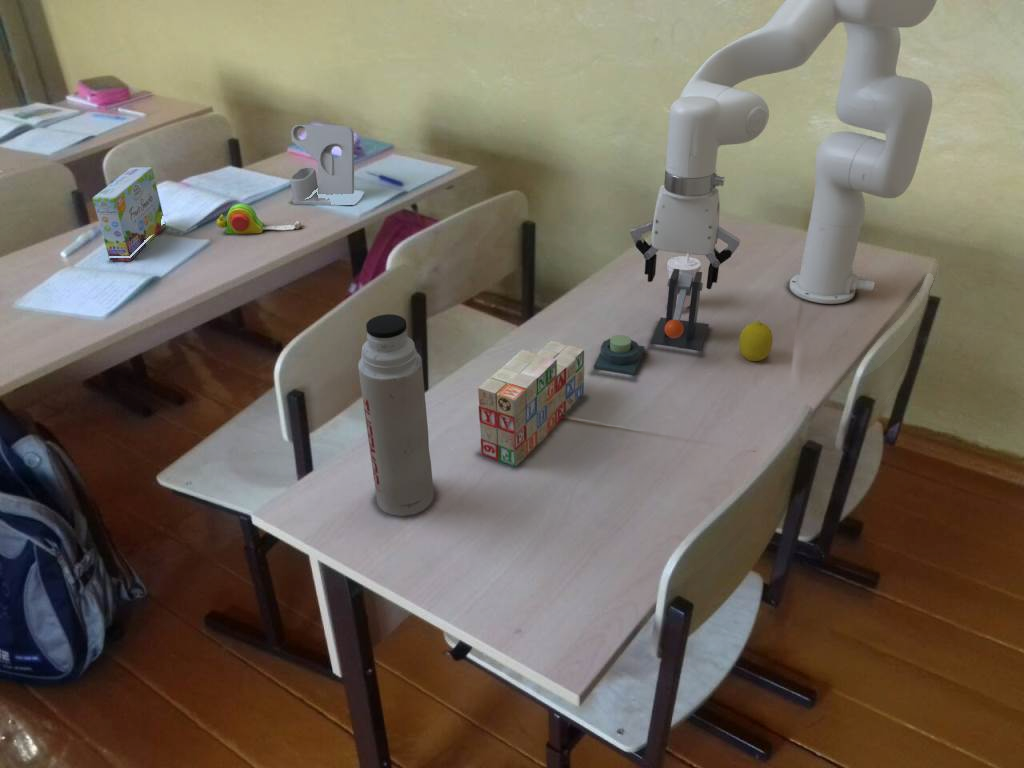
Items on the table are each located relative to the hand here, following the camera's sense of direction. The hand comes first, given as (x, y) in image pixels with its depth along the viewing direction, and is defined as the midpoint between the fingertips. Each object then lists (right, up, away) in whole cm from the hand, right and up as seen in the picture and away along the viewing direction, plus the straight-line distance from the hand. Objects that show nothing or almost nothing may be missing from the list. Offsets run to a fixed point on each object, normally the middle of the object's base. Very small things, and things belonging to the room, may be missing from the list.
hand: (680, 282), depth 136 cm
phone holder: (-76, +32, +81) cm, 116 cm away
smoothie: (+5, -2, +26) cm, 26 cm away
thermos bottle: (-43, -33, -20) cm, 58 cm away
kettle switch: (+2, -4, +8) cm, 10 cm away
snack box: (-115, +16, +58) cm, 130 cm away
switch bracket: (+3, -8, +16) cm, 18 cm away
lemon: (+14, -13, +8) cm, 21 cm away
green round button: (-9, -11, +7) cm, 16 cm away
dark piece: (-9, -13, +9) cm, 18 cm away
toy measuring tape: (-89, +20, +63) cm, 111 cm away
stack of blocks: (-24, -23, -6) cm, 34 cm away
